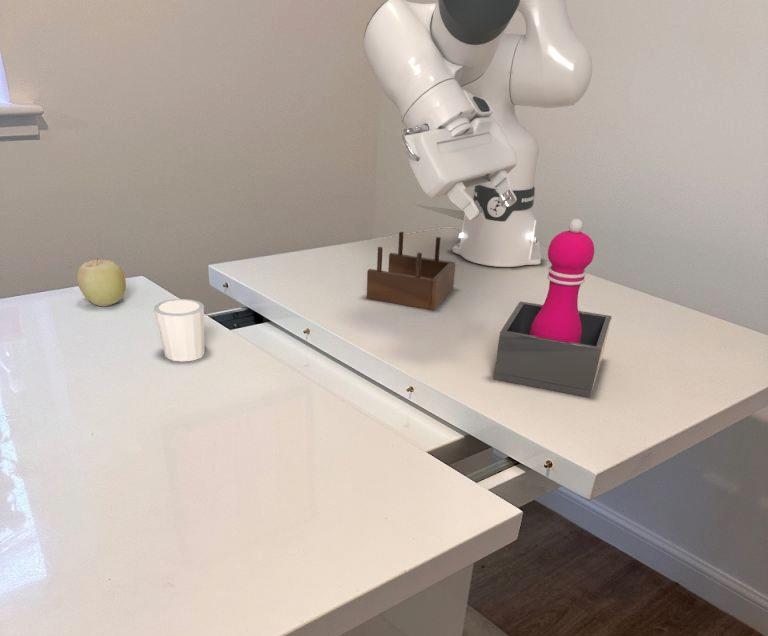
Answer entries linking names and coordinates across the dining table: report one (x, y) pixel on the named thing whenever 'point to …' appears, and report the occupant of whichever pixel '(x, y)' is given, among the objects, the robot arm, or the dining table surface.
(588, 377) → the gray open box
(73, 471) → the dining table surface
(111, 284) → the fruit
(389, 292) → the rack
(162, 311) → the white cup
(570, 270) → the pepper mill
